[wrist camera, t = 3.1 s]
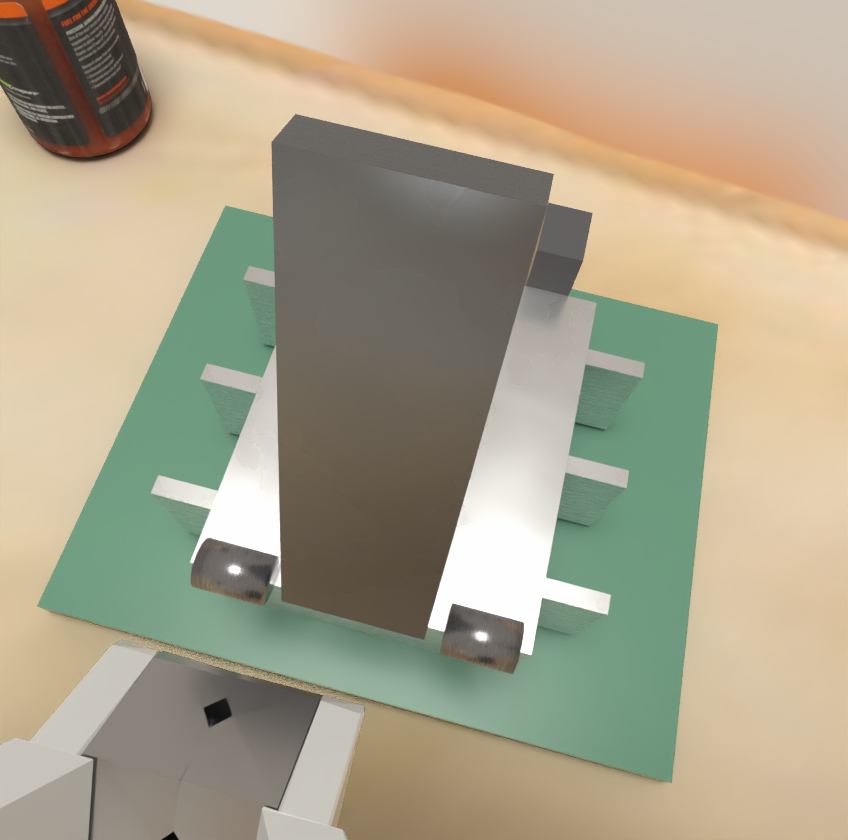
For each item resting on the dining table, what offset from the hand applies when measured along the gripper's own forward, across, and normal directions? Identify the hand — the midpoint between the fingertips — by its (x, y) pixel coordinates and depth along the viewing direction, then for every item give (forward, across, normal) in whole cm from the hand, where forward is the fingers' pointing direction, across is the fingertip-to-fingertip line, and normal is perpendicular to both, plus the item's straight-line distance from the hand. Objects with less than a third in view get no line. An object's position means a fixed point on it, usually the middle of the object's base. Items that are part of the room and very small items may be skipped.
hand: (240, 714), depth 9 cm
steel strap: (+8, 0, -1) cm, 8 cm away
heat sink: (+18, 0, +5) cm, 19 cm away
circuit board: (+20, 0, +5) cm, 20 cm away
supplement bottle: (+29, +19, -4) cm, 35 cm away
